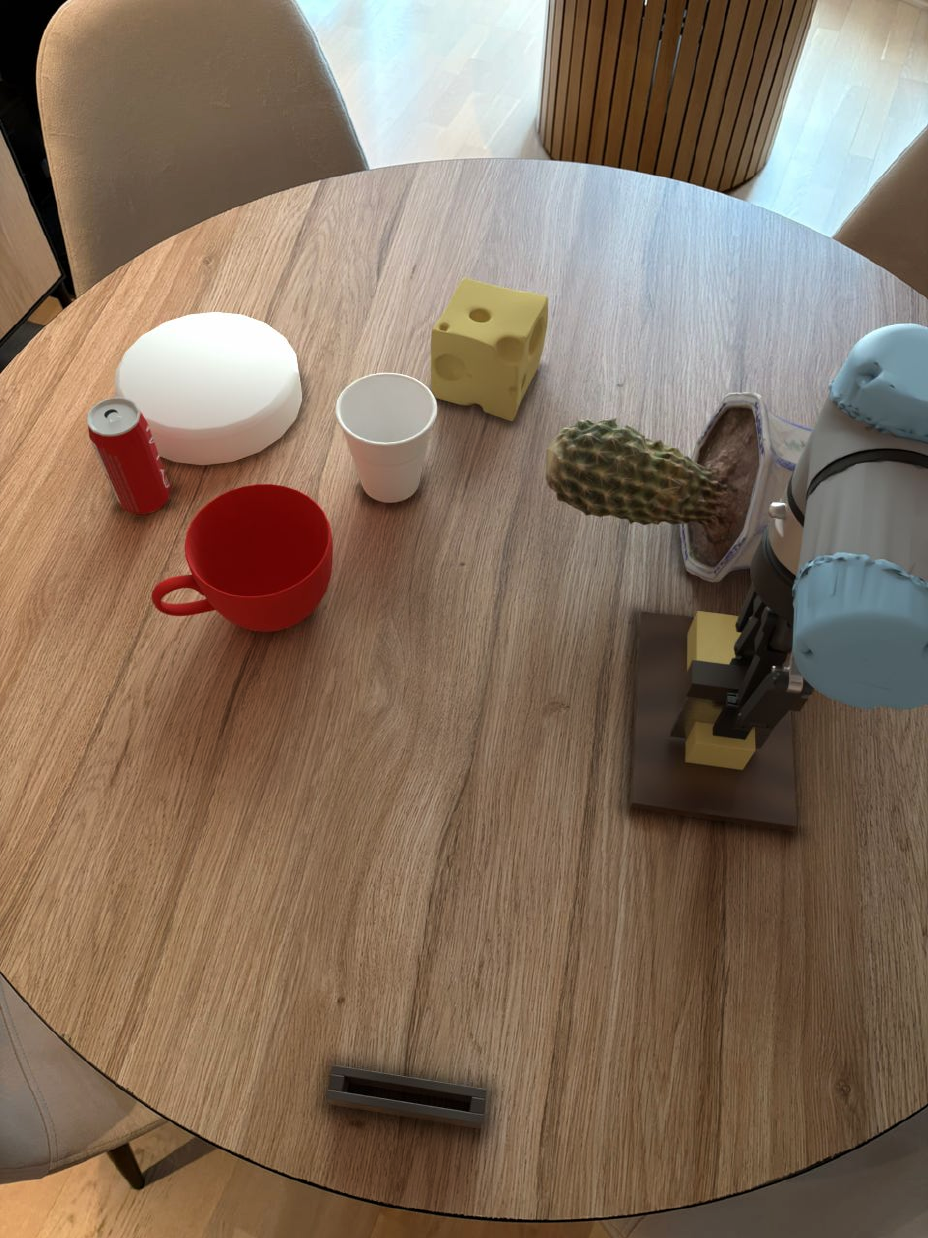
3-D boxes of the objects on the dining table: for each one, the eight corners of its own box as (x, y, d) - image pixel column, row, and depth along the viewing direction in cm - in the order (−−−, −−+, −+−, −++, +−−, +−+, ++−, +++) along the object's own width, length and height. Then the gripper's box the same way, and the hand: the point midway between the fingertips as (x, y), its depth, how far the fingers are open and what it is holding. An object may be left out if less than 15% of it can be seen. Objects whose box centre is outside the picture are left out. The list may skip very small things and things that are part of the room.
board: (793, 831, 81) (797, 826, 80) (629, 808, 82) (631, 803, 81) (783, 635, 92) (787, 629, 91) (638, 616, 93) (640, 610, 92)
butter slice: (742, 770, 83) (755, 750, 80) (685, 762, 83) (695, 742, 80) (742, 749, 84) (755, 729, 81) (685, 741, 84) (695, 721, 81)
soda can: (181, 500, 99) (153, 417, 89) (134, 525, 98) (99, 443, 87) (155, 468, 102) (124, 384, 92) (108, 492, 100) (72, 409, 90)
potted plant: (870, 378, 91) (576, 315, 84) (916, 531, 82) (591, 474, 75) (772, 488, 106) (515, 442, 99) (802, 629, 97) (521, 588, 90)
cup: (363, 530, 98) (356, 457, 89) (331, 464, 103) (320, 388, 94) (452, 502, 100) (453, 427, 91) (415, 438, 105) (413, 361, 96)
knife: (765, 736, 84) (807, 674, 75) (766, 759, 83) (808, 699, 74) (664, 722, 85) (692, 659, 75) (663, 745, 84) (692, 683, 74)
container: (90, 441, 104) (76, 409, 100) (172, 324, 114) (163, 292, 110) (260, 483, 101) (253, 453, 97) (328, 360, 112) (324, 328, 108)
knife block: (484, 1095, 70) (486, 1089, 67) (480, 1129, 68) (482, 1124, 65) (337, 1071, 70) (332, 1064, 67) (330, 1104, 69) (325, 1098, 66)
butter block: (741, 714, 86) (754, 693, 83) (686, 707, 86) (696, 685, 83) (740, 640, 90) (751, 617, 87) (687, 633, 91) (697, 610, 87)
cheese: (514, 424, 107) (521, 354, 98) (425, 398, 109) (424, 328, 100) (543, 365, 112) (552, 294, 104) (458, 341, 114) (460, 270, 106)
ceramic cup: (148, 595, 93) (120, 531, 84) (307, 530, 98) (295, 464, 89) (196, 698, 87) (170, 640, 78) (363, 623, 92) (356, 561, 83)
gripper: (761, 452, 65) (685, 636, 84) (769, 640, 56) (682, 796, 76) (873, 465, 64) (770, 647, 84) (897, 657, 56) (777, 809, 76)
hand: (728, 718), depth 80 cm, fingers closed on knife, 2 cm apart
